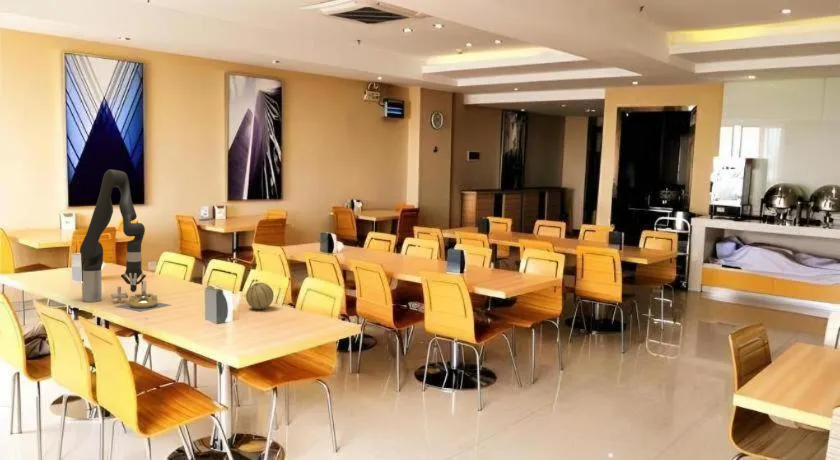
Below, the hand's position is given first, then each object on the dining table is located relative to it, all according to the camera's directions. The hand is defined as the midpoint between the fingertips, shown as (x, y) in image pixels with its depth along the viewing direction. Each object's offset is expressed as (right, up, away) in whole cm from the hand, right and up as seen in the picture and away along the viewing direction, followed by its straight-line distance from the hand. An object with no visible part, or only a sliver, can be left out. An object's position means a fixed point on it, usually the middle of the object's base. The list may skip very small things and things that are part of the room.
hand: (133, 291), depth 352 cm
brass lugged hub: (+7, -7, -3) cm, 10 cm away
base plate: (+7, -9, -3) cm, 11 cm away
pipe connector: (-9, -8, +3) cm, 13 cm away
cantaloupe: (+66, -10, +7) cm, 68 cm away
